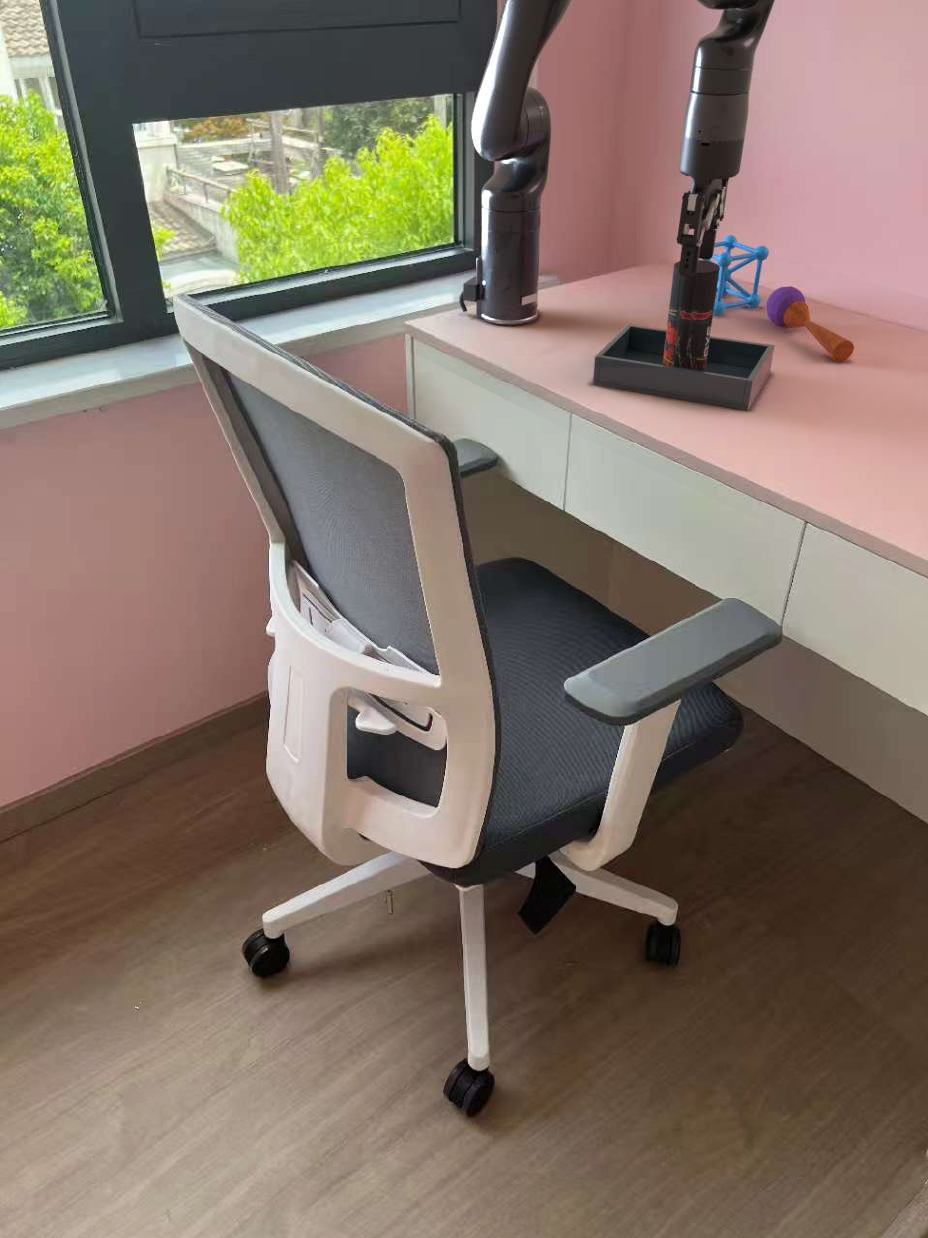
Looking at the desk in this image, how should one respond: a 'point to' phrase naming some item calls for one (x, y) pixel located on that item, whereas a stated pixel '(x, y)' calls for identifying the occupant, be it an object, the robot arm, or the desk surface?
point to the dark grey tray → (724, 382)
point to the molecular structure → (725, 273)
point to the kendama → (805, 321)
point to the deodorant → (691, 317)
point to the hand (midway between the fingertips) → (695, 266)
